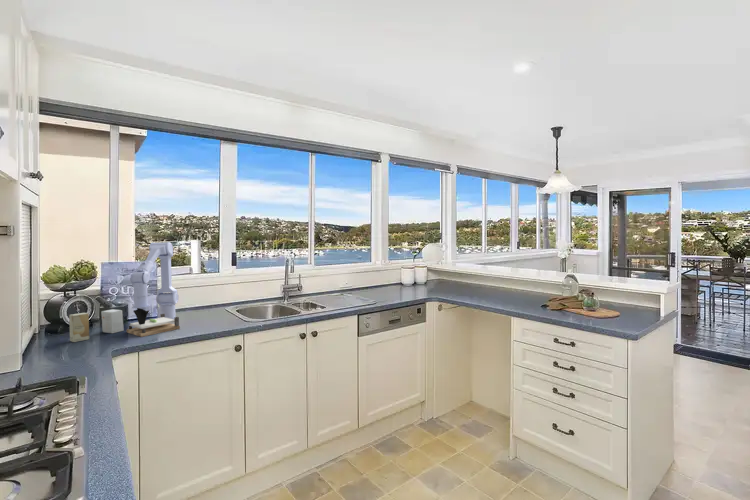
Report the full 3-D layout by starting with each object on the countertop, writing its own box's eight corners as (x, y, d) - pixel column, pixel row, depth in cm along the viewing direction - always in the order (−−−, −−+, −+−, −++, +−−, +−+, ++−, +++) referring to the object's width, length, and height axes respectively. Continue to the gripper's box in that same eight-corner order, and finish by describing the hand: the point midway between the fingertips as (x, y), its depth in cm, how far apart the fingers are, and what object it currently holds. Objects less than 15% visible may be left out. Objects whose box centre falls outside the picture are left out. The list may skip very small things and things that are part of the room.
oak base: (126, 332, 187) (126, 320, 186) (164, 324, 201) (163, 313, 201) (141, 336, 177) (140, 324, 177) (179, 328, 192) (179, 316, 192)
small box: (123, 330, 190) (122, 310, 189) (112, 333, 185) (110, 312, 184) (113, 329, 193) (112, 309, 193) (102, 332, 188) (101, 311, 188)
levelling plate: (130, 325, 186) (129, 321, 186) (164, 318, 200) (164, 314, 200) (141, 329, 179) (141, 324, 179) (176, 321, 192) (176, 317, 192)
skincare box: (73, 342, 170) (72, 315, 169) (69, 341, 172) (68, 314, 172) (90, 339, 175) (89, 312, 175) (86, 337, 178) (84, 312, 177)
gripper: (125, 296, 185) (126, 323, 186) (138, 298, 177) (139, 327, 177) (140, 294, 191) (141, 321, 192) (154, 296, 183) (155, 324, 183)
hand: (141, 324), depth 185 cm, fingers closed, pressing on levelling plate
